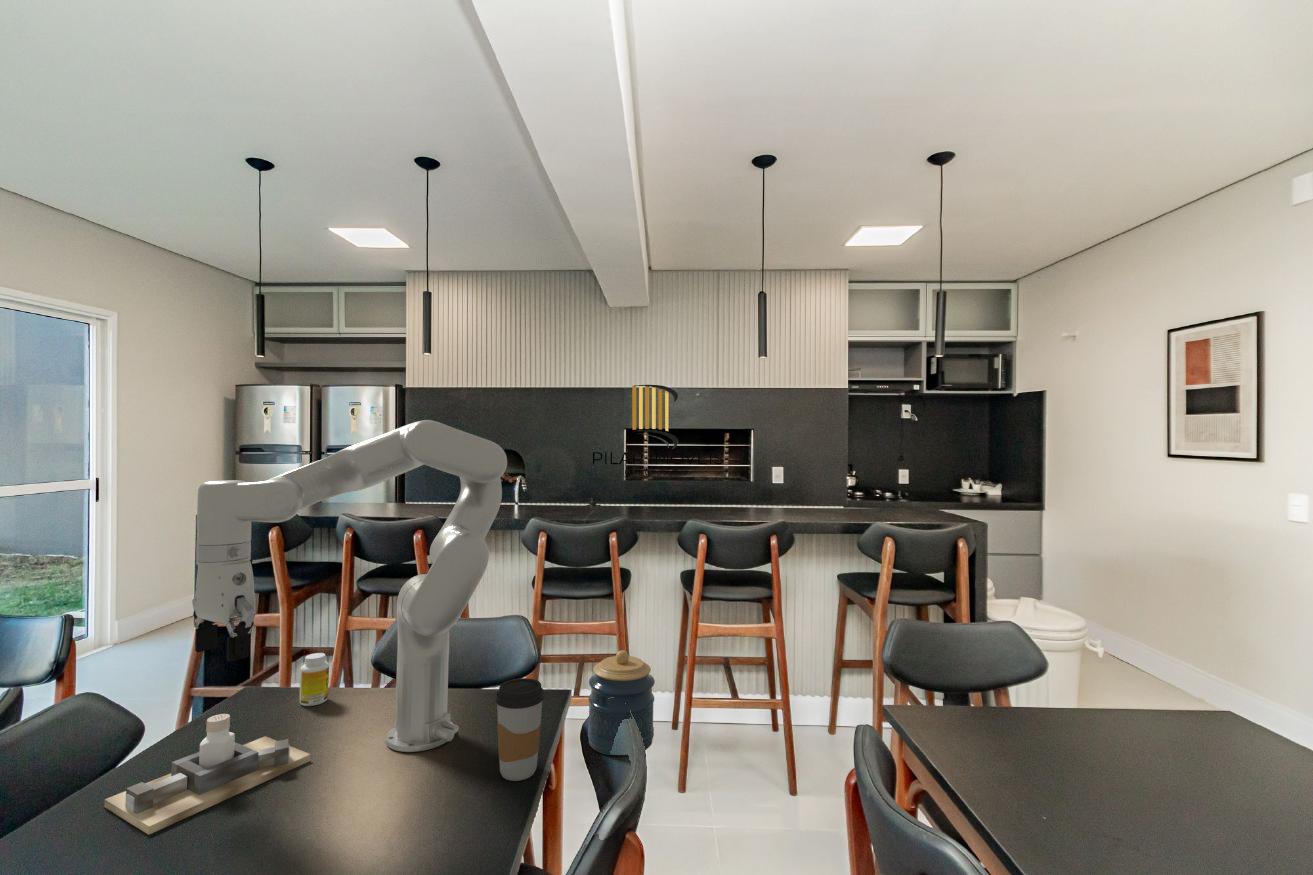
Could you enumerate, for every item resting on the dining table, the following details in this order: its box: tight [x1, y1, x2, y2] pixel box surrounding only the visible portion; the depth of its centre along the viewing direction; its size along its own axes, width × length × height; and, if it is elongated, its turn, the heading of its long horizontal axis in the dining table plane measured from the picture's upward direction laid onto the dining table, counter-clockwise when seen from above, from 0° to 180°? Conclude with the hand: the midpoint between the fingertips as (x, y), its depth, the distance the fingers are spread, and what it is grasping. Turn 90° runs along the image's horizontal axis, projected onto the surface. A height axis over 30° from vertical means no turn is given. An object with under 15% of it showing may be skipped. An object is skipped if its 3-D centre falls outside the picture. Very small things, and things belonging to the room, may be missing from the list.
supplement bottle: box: [299, 652, 330, 707], centre depth 133 cm, size 6×6×10 cm
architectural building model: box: [103, 735, 311, 836], centre depth 100 cm, size 24×14×4 cm, turn 152°
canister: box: [587, 649, 656, 756], centre depth 117 cm, size 13×13×18 cm
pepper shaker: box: [198, 713, 236, 769], centre depth 100 cm, size 4×4×10 cm
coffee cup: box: [495, 677, 545, 782], centre depth 105 cm, size 8×8×15 cm
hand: (221, 654), depth 101 cm, fingers open, 9 cm apart
